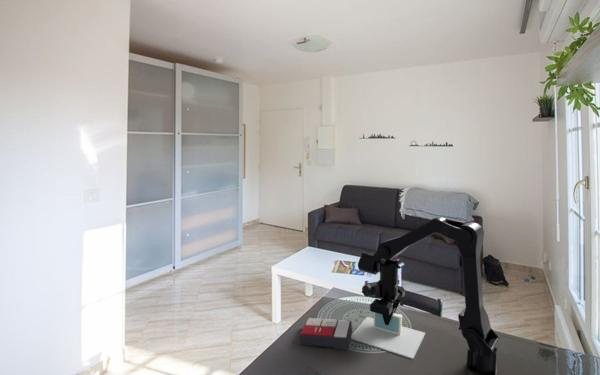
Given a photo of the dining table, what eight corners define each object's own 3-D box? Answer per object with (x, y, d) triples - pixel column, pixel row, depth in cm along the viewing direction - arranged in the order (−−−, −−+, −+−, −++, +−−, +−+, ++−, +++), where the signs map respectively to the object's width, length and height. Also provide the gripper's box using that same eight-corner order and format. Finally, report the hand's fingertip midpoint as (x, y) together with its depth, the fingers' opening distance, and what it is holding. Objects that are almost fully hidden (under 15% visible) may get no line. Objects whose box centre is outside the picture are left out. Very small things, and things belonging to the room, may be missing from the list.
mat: (425, 333, 105) (425, 332, 105) (413, 359, 92) (413, 358, 92) (367, 317, 116) (367, 316, 116) (349, 338, 103) (349, 337, 103)
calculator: (307, 316, 110) (351, 318, 106) (308, 328, 110) (352, 331, 106) (298, 333, 99) (347, 336, 95) (300, 346, 99) (348, 350, 95)
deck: (401, 332, 105) (402, 315, 105) (400, 335, 104) (400, 317, 103) (375, 325, 110) (375, 308, 110) (373, 327, 109) (373, 310, 108)
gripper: (375, 265, 118) (374, 306, 119) (354, 282, 102) (354, 328, 103) (405, 271, 111) (404, 314, 113) (389, 289, 96) (388, 339, 97)
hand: (387, 323), depth 107 cm, fingers closed on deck, 2 cm apart
